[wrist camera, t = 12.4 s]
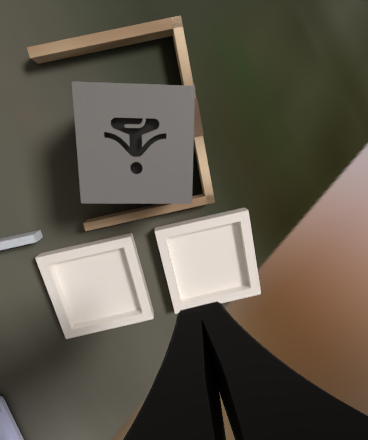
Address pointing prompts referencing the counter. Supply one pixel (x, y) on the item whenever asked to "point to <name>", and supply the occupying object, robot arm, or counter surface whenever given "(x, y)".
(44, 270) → the dish
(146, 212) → the oak pen
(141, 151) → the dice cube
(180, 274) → the dish
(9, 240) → the metal frame
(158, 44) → the counter surface
